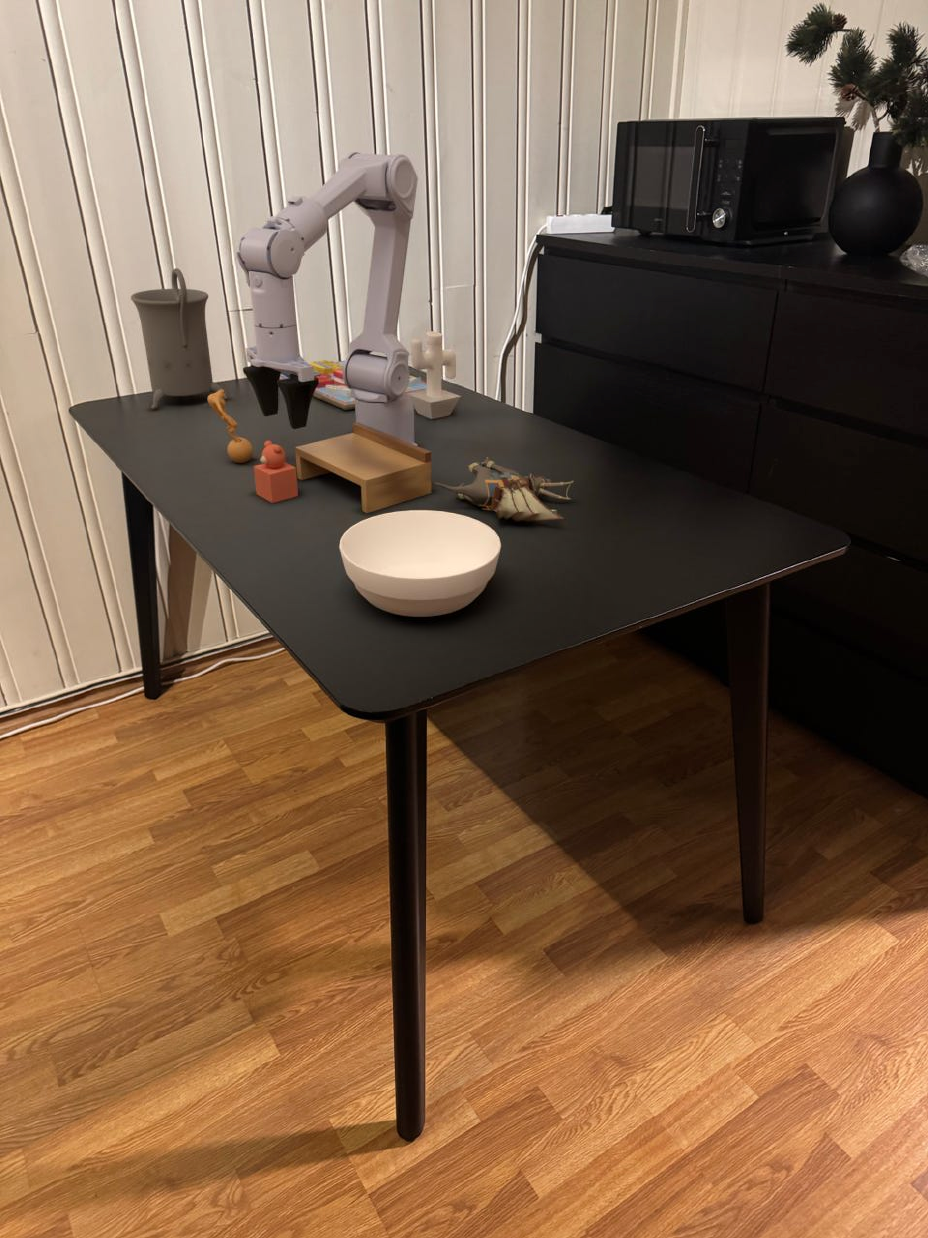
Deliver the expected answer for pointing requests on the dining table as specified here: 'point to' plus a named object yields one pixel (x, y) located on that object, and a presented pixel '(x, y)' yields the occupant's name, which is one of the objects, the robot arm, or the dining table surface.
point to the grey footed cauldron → (175, 340)
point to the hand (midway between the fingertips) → (284, 420)
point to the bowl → (420, 561)
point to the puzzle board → (336, 389)
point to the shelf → (370, 465)
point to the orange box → (275, 475)
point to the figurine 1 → (231, 430)
